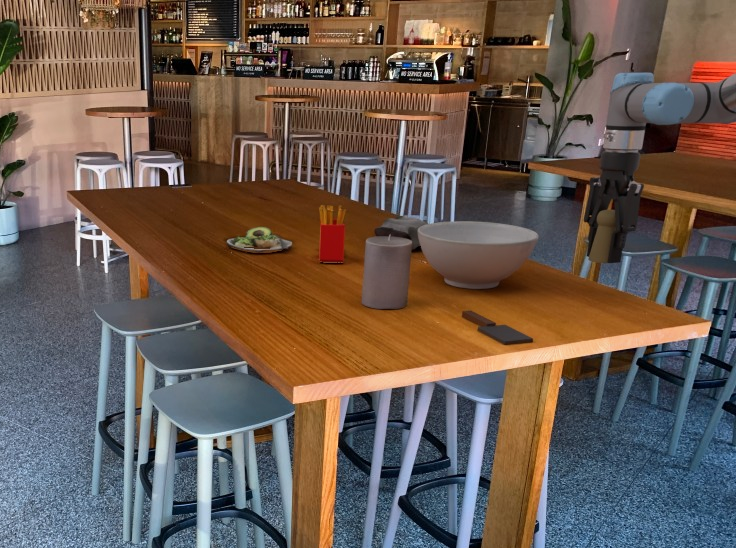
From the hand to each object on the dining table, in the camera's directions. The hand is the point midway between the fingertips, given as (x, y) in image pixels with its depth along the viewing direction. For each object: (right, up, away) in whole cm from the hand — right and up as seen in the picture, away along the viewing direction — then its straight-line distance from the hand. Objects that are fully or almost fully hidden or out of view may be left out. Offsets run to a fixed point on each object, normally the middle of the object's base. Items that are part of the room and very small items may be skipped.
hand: (603, 259), depth 175 cm
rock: (-34, +11, +50) cm, 61 cm away
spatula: (-32, -17, -21) cm, 42 cm away
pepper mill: (0, 0, 0) cm, 0 cm away
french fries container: (-56, +5, +34) cm, 66 cm away
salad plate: (-74, +11, +50) cm, 90 cm away
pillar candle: (-50, -11, -5) cm, 51 cm away
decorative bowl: (-25, -4, +12) cm, 28 cm away
